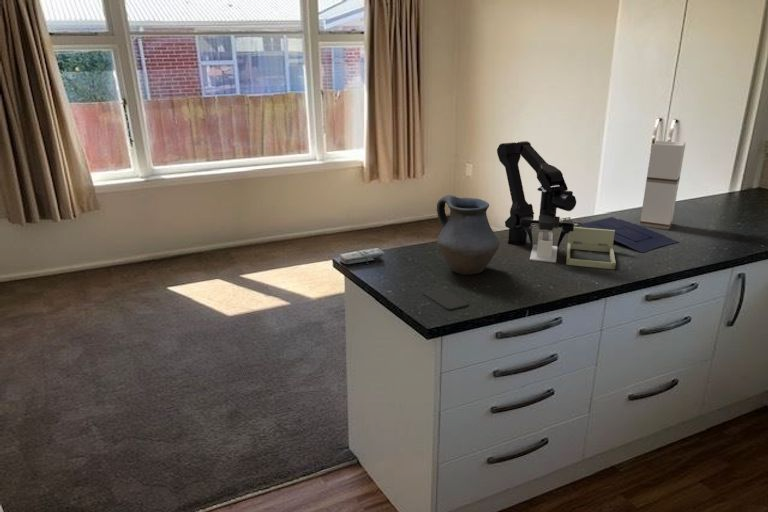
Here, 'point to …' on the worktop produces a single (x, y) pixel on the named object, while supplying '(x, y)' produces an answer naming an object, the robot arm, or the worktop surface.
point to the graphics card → (576, 223)
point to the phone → (445, 299)
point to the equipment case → (591, 246)
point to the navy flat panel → (631, 234)
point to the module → (545, 244)
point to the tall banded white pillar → (662, 184)
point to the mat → (535, 258)
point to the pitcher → (466, 234)
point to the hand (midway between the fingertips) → (544, 246)
